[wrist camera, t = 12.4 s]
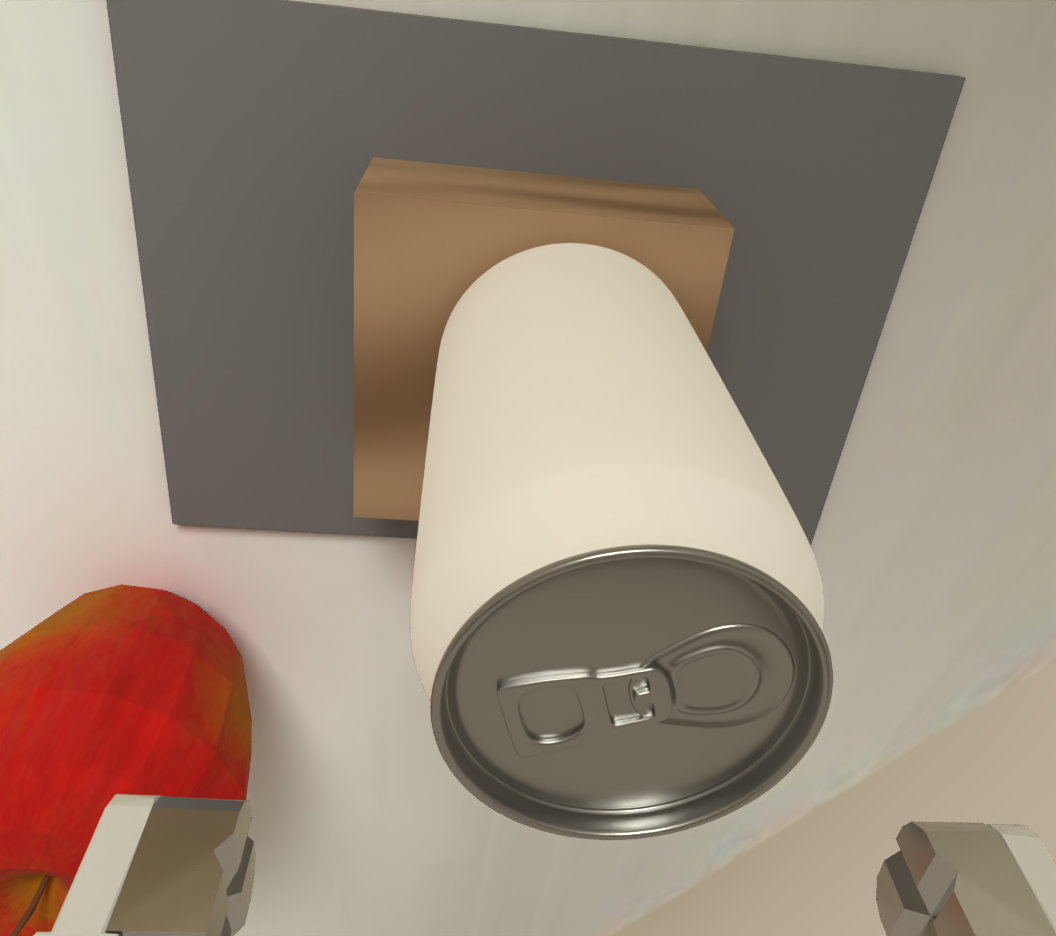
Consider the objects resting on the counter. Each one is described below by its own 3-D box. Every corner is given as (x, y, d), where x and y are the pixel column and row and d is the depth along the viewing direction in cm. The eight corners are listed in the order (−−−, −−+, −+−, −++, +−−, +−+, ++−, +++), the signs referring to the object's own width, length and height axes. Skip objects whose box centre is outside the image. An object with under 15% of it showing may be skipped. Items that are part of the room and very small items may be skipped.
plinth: (372, 157, 23) (354, 193, 20) (699, 189, 24) (734, 228, 21) (369, 446, 28) (353, 516, 25) (643, 465, 29) (665, 535, 25)
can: (702, 441, 24) (869, 818, 14) (473, 489, 24) (465, 889, 14) (671, 208, 21) (861, 472, 10) (406, 269, 21) (332, 580, 11)
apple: (-3, 658, 32) (-229, 990, 22) (75, 483, 29) (-154, 785, 18) (233, 744, 35) (129, 1074, 25) (332, 595, 32) (257, 911, 21)
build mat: (109, -20, 21) (103, -20, 21) (958, 75, 23) (965, 78, 23) (176, 517, 30) (172, 524, 29) (801, 554, 32) (805, 561, 31)
